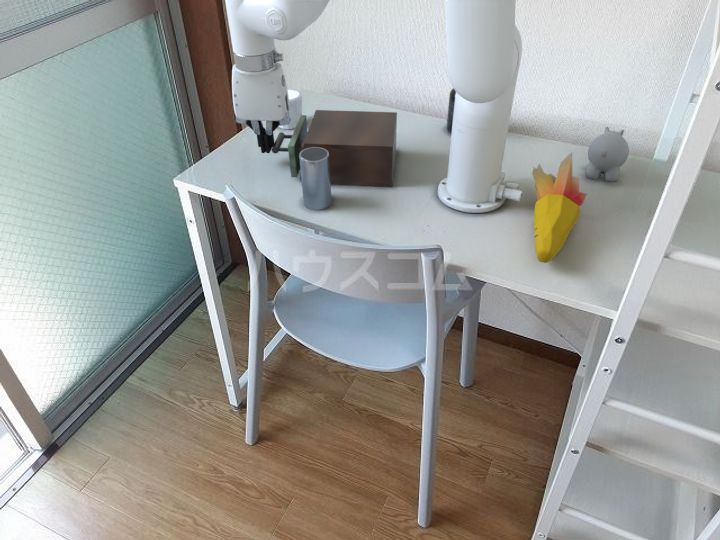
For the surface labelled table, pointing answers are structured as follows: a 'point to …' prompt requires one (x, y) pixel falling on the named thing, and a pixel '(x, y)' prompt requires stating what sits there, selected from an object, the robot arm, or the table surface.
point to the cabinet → (356, 145)
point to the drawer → (293, 144)
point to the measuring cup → (315, 178)
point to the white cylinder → (294, 108)
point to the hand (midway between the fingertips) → (267, 149)
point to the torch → (555, 208)
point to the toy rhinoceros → (607, 155)
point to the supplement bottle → (451, 110)
